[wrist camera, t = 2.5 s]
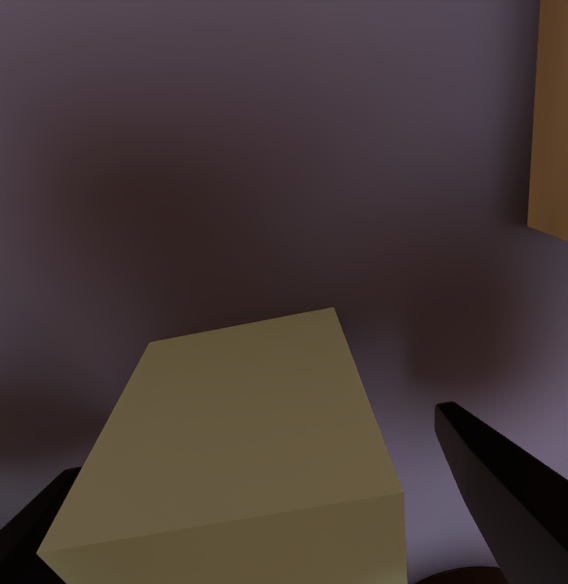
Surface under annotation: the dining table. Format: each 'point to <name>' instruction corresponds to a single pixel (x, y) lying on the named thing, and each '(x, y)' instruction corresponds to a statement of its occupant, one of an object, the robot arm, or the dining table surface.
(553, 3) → the oak block
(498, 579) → the coffee mug
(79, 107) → the dining table surface
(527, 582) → the robot arm
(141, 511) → the yellow cube
